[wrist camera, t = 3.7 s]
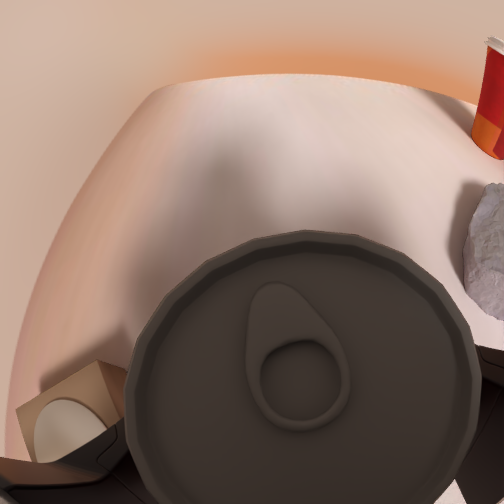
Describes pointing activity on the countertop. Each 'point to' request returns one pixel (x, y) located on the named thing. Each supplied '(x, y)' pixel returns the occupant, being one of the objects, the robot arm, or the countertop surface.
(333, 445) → the beer can
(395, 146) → the countertop surface
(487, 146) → the paper cup
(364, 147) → the countertop surface
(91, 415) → the walnut pedestal
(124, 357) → the countertop surface
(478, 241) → the stone block
